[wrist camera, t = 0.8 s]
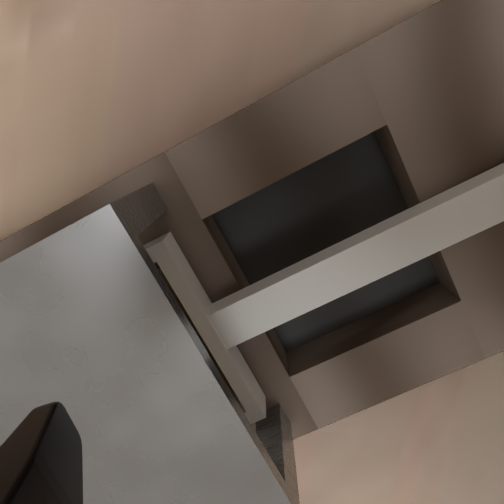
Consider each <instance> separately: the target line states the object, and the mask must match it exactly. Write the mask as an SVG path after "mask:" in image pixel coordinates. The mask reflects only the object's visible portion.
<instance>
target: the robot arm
mask: <svg viewBox="0 0 504 504" xmlns="http://www.w3.org/2000/svg"><path fill="white" fill-rule="evenodd" d="M0 504H83V458H82V441H81V437H80V434H79V432H78V430H77V428H76V427H75V425H74V423H73V421H72V419H71V418H70V416H69V414H68V412H67V410H66V408H65V407H64V405H63V404H62V403H61V402H58V401H54V402H51V403H48V404H45V405H42V406H38V407H36V408H34V409H33V410H32V411H31V412H30V413H29V414H28V415H27V416H26V417H25V419H24V420H23V421H22V422H21V423H20V424H19V425H18V427H17V428H16V429H15V430H14V431H13V432H12V434H11V435H10V436H9V437H8V438H7V439H6V440H5V442H4V443H3V444H2V445H1V446H0Z"/></svg>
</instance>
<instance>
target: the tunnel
mask: <svg viewBox="0 0 504 504" xmlns="http://www.w3.org/2000/svg"><path fill="white" fill-rule="evenodd" d="M167 210H168V208H167V206H166V204H165V203H164V201H163V199H162V197H161V196H160V194H159V192H158V190H157V189H156V187H155V185H154V183H153V182H152V183H150V184H148V185H146V186H144V187H142V188H140V189H138V190H136V191H134V192H132V193H130V194H128V195H126V196H124V197H122V198H120V199H118V200H116V201H114V202H112V203H110V204H108V205H106V206H105V207H103V208H101V209H99V210H97V211H95V212H93V213H92V214H90V215H88V216H86V217H84V218H82V219H80V220H79V221H77V222H75V223H73V224H71V225H69V226H67V227H66V228H64V229H62V230H60V231H58V232H56V233H54V234H52V235H51V236H49V237H47V238H45V239H43V240H41V241H39V242H38V243H36V244H34V245H32V246H30V247H28V248H26V249H25V250H23V251H21V252H19V253H17V254H15V255H13V256H12V257H10V258H8V259H6V260H4V261H2V262H0V446H1V445H2V444H3V443H4V442H5V440H6V439H7V438H8V437H9V436H10V435H11V434H12V432H13V431H14V430H15V429H16V428H17V427H18V425H19V424H20V423H21V422H22V421H23V420H24V419H25V417H26V416H27V415H28V414H29V413H30V412H31V411H32V410H33V409H34V408H36V407H38V406H42V405H45V404H48V403H51V402H54V401H58V402H61V403H62V404H63V405H64V407H65V408H66V410H67V412H68V414H69V416H70V418H71V419H72V421H73V423H74V425H75V427H76V428H77V430H78V432H79V434H80V437H81V441H82V458H83V504H300V502H299V493H298V483H297V474H296V465H295V455H294V446H293V437H292V427H291V423H290V421H289V419H288V418H287V416H286V414H285V412H284V411H283V409H282V407H281V405H280V404H277V405H275V406H273V407H270V408H268V409H266V418H264V419H262V420H259V421H257V422H256V432H255V431H254V429H253V427H252V426H251V424H250V422H249V421H248V419H247V417H246V416H245V414H244V412H243V411H242V409H241V407H240V406H239V404H238V402H237V401H236V399H235V397H234V396H233V394H232V392H231V391H230V389H229V387H228V386H227V384H226V382H225V381H224V379H223V377H222V376H221V374H220V372H219V371H218V369H217V367H216V366H215V364H214V362H213V361H212V359H211V357H210V356H209V354H208V352H207V351H206V349H205V347H204V346H203V344H202V342H201V341H200V339H199V337H198V336H197V334H196V332H195V331H194V329H193V327H192V326H191V324H190V322H189V321H188V319H187V317H186V316H185V314H184V312H183V311H182V309H181V307H180V306H179V304H178V302H177V301H176V299H175V297H174V296H173V294H172V292H171V291H170V289H169V287H168V286H167V284H166V282H165V281H164V279H163V277H162V276H161V274H160V272H159V271H158V269H157V267H156V266H155V264H154V262H153V261H152V259H151V257H150V256H149V254H148V252H147V251H146V249H145V247H144V246H143V244H142V242H141V241H140V239H139V237H138V235H139V234H140V233H141V232H143V231H144V230H145V229H146V228H147V227H148V226H149V225H151V224H152V223H153V222H154V221H155V220H156V219H157V218H159V217H160V216H161V215H162V214H163V213H164V212H165V211H167Z"/></svg>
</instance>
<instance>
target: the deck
mask: <svg viewBox="0 0 504 504" xmlns="http://www.w3.org/2000/svg"><path fill="white" fill-rule="evenodd" d="M502 163H504V0H441V1H440V2H438V3H436V4H434V5H432V6H431V7H429V8H427V9H425V10H423V11H421V12H420V13H418V14H416V15H414V16H412V17H410V18H409V19H407V20H405V21H403V22H401V23H399V24H398V25H396V26H394V27H392V28H390V29H388V30H387V31H385V32H383V33H381V34H379V35H377V36H376V37H374V38H372V39H370V40H368V41H366V42H365V43H363V44H361V45H359V46H357V47H355V48H354V49H352V50H350V51H348V52H346V53H344V54H343V55H341V56H339V57H337V58H335V59H333V60H332V61H330V62H328V63H326V64H324V65H322V66H321V67H319V68H317V69H315V70H313V71H311V72H310V73H308V74H306V75H304V76H302V77H301V78H299V79H297V80H295V81H293V82H291V83H290V84H288V85H286V86H284V87H282V88H280V89H279V90H277V91H275V92H273V93H271V94H269V95H268V96H266V97H264V98H262V99H260V100H258V101H257V102H255V103H253V104H251V105H249V106H247V107H246V108H244V109H242V110H240V111H238V112H236V113H235V114H233V115H231V116H229V117H227V118H225V119H224V120H222V121H220V122H218V123H216V124H214V125H213V126H211V127H209V128H207V129H205V130H203V131H202V132H200V133H198V134H196V135H194V136H192V137H191V138H189V139H187V140H185V141H183V142H181V143H180V144H178V145H176V146H174V147H172V148H171V149H169V150H167V151H165V152H163V153H161V154H160V155H158V156H156V157H154V158H152V159H150V160H149V161H147V162H145V163H143V164H141V165H139V166H138V167H136V168H134V169H132V170H130V171H128V172H127V173H125V174H123V175H121V176H119V177H117V178H116V179H114V180H112V181H110V182H108V183H106V184H105V185H103V186H101V187H99V188H97V189H95V190H94V191H92V192H90V193H88V194H86V195H84V196H83V197H81V198H79V199H77V200H75V201H73V202H72V203H70V204H68V205H66V206H64V207H62V208H61V209H59V210H57V211H55V212H53V213H51V214H50V215H48V216H46V217H44V218H42V219H41V220H39V221H37V222H35V223H33V224H31V225H30V226H28V227H26V228H24V229H22V230H20V231H19V232H17V233H15V234H13V235H11V236H9V237H8V238H6V239H4V240H2V241H0V262H2V261H4V260H6V259H8V258H10V257H12V256H13V255H15V254H17V253H19V252H21V251H23V250H25V249H26V248H28V247H30V246H32V245H34V244H36V243H38V242H39V241H41V240H43V239H45V238H47V237H49V236H51V235H52V234H54V233H56V232H58V231H60V230H62V229H64V228H66V227H67V226H69V225H71V224H73V223H75V222H77V221H79V220H80V219H82V218H84V217H86V216H88V215H90V214H92V213H93V212H95V211H97V210H99V209H101V208H103V207H105V206H106V205H108V204H110V203H112V202H114V201H116V200H118V199H120V198H122V197H124V196H126V195H128V194H130V193H132V192H134V191H136V190H138V189H140V188H142V187H144V186H146V185H148V184H150V183H152V182H153V183H154V185H155V187H156V189H157V190H158V192H159V194H160V196H161V197H162V199H163V201H164V203H165V204H166V206H167V208H168V210H167V211H165V212H164V213H163V214H162V215H161V216H160V217H159V218H157V219H156V220H155V221H154V222H153V223H152V224H151V225H149V226H148V227H147V228H146V229H145V230H144V231H143V232H141V233H140V234H139V235H138V237H139V239H140V241H141V242H142V244H143V245H145V244H147V243H149V242H151V241H153V240H155V239H157V238H159V237H160V236H162V235H164V234H166V233H168V232H171V233H172V235H173V237H174V239H175V240H176V242H177V244H178V246H179V247H180V249H181V251H182V252H183V254H184V256H185V258H186V259H187V261H188V263H189V265H190V266H191V268H192V270H193V271H194V273H195V275H196V277H197V278H198V280H199V282H200V284H201V285H202V287H203V289H204V290H205V292H206V294H207V296H208V297H209V299H210V301H211V303H214V302H216V301H218V300H220V299H223V298H225V297H227V296H229V295H231V294H233V293H235V292H237V291H239V290H241V289H243V288H245V287H247V286H249V285H252V284H254V283H256V282H258V281H260V280H262V279H264V278H266V277H268V276H270V275H272V274H274V273H276V272H278V271H281V270H283V269H285V268H287V267H289V266H291V265H293V264H295V263H297V262H299V261H301V260H303V259H305V258H307V257H310V256H312V255H314V254H316V253H318V252H320V251H322V250H324V249H326V248H328V247H330V246H332V245H334V244H336V243H339V242H341V241H343V240H345V239H347V238H349V237H351V236H353V235H355V234H357V233H359V232H361V231H363V230H365V229H368V228H370V227H372V226H374V225H376V224H378V223H380V222H382V221H384V220H386V219H388V218H390V217H392V216H394V215H397V214H399V213H401V212H403V211H405V210H407V209H409V208H411V207H413V206H415V205H417V204H419V203H421V202H423V201H426V200H428V199H430V198H432V197H434V196H436V195H438V194H440V193H442V192H444V191H446V190H448V189H450V188H452V187H455V186H457V185H459V184H461V183H463V182H465V181H467V180H469V179H471V178H473V177H475V176H477V175H479V174H481V173H484V172H486V171H488V170H490V169H492V168H494V167H496V166H498V165H500V164H502ZM154 264H155V266H156V267H157V269H160V267H159V265H158V263H157V262H155V263H154ZM236 346H237V347H238V349H239V351H240V353H241V354H242V356H243V358H244V360H245V361H246V363H247V365H248V367H249V368H250V370H251V372H252V373H253V375H254V377H255V379H256V380H257V382H258V384H259V386H260V387H261V389H262V391H263V392H264V394H265V396H266V409H268V408H270V407H273V406H275V405H277V404H280V405H281V407H282V409H283V411H284V412H285V414H286V416H287V418H288V419H289V421H290V423H291V427H292V437H293V439H295V438H298V437H300V436H303V435H305V434H307V433H310V432H312V431H314V430H317V429H319V428H322V427H324V426H326V425H329V424H331V423H333V422H336V421H338V420H340V419H343V418H345V417H348V416H350V415H352V414H355V413H357V412H359V411H362V410H364V409H367V408H369V407H371V406H374V405H376V404H378V403H381V402H383V401H385V400H388V399H390V398H393V397H395V396H397V395H400V394H402V393H404V392H407V391H409V390H412V389H414V388H416V387H419V386H421V385H423V384H426V383H428V382H431V381H433V380H435V379H438V378H440V377H442V376H445V375H447V374H449V373H452V372H454V371H457V370H459V369H461V368H464V367H466V366H468V365H471V364H473V363H476V362H478V361H480V360H483V359H485V358H487V357H490V356H492V355H494V354H497V353H499V352H502V351H504V221H503V222H501V223H499V224H496V225H494V226H492V227H490V228H488V229H486V230H484V231H481V232H479V233H477V234H475V235H473V236H471V237H468V238H466V239H464V240H462V241H460V242H458V243H456V244H453V245H451V246H449V247H447V248H445V249H443V250H440V251H438V252H436V253H434V254H432V255H430V256H428V257H425V258H423V259H421V260H419V261H417V262H415V263H412V264H410V265H408V266H406V267H404V268H402V269H399V270H397V271H395V272H393V273H391V274H389V275H387V276H384V277H382V278H380V279H378V280H376V281H374V282H371V283H369V284H367V285H365V286H363V287H361V288H359V289H356V290H354V291H352V292H350V293H348V294H346V295H343V296H341V297H339V298H337V299H335V300H333V301H331V302H328V303H326V304H324V305H322V306H320V307H318V308H315V309H313V310H311V311H309V312H307V313H305V314H302V315H300V316H298V317H296V318H294V319H292V320H290V321H287V322H285V323H283V324H281V325H279V326H277V327H274V328H272V329H270V330H268V331H266V332H264V333H262V334H259V335H257V336H255V337H253V338H251V339H249V340H246V341H244V342H242V343H240V344H238V345H236ZM229 389H230V391H231V392H232V394H233V396H234V397H235V396H237V395H236V394H235V392H234V390H233V389H232V387H231V385H230V384H229ZM251 426H252V427H253V429H254V431H255V432H256V422H255V423H252V424H251Z"/></svg>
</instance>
